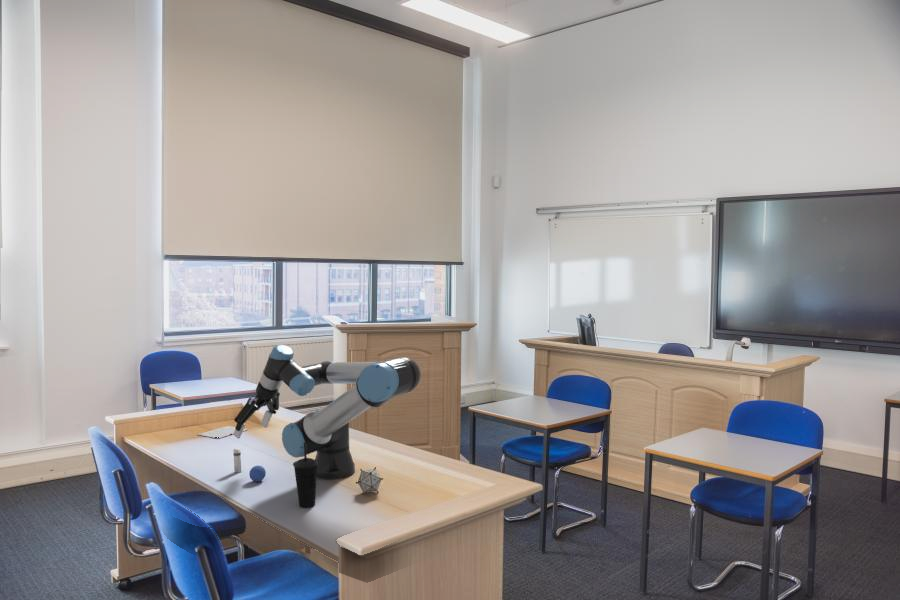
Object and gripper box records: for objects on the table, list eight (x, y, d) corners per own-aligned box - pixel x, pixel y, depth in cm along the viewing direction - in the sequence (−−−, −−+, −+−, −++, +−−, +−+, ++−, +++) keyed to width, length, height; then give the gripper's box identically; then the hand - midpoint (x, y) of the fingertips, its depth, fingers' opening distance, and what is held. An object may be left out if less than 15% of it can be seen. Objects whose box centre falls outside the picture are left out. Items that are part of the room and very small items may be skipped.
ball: (269, 480, 234) (268, 465, 234) (256, 485, 230) (255, 469, 229) (259, 477, 237) (258, 462, 237) (246, 482, 233) (245, 466, 233)
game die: (373, 505, 219) (376, 487, 212) (350, 495, 220) (352, 477, 214) (385, 484, 225) (388, 466, 219) (362, 474, 227) (365, 456, 221)
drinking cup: (321, 500, 214) (319, 439, 212) (317, 509, 206) (315, 445, 205) (297, 501, 213) (294, 439, 212) (292, 510, 206) (290, 446, 205)
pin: (242, 471, 245) (241, 448, 244) (237, 473, 243) (236, 450, 242) (238, 470, 246) (237, 447, 245) (232, 472, 244) (231, 449, 243)
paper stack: (262, 433, 299) (262, 432, 299) (216, 447, 278) (216, 446, 278) (227, 427, 312) (227, 425, 311) (181, 440, 290) (181, 438, 290)
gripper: (286, 371, 249) (267, 415, 256) (236, 386, 227) (217, 434, 234) (300, 382, 246) (280, 427, 253) (251, 399, 224) (231, 447, 231)
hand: (250, 430), depth 244 cm, fingers open, 13 cm apart
